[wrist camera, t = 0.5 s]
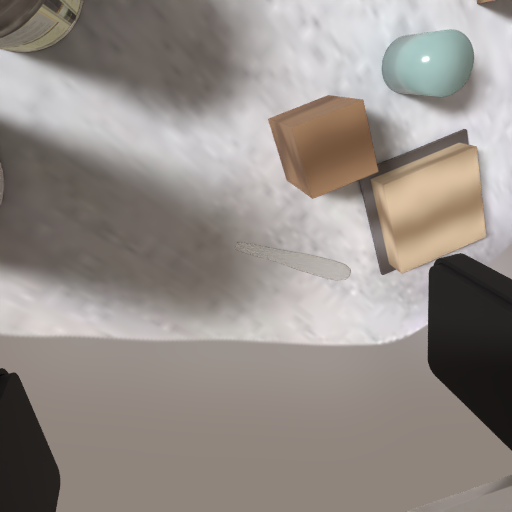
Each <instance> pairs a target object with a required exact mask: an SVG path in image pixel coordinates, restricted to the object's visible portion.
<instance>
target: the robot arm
mask: <svg viewBox="0 0 512 512" xmlns="http://www.w3.org/2000/svg"><path fill="white" fill-rule="evenodd" d="M428 363H429V366H430V369H431V370H432V372H433V374H434V375H435V376H436V377H437V378H438V379H439V380H440V381H441V382H442V383H443V384H445V386H446V387H447V388H448V389H449V390H450V391H451V392H452V393H453V394H455V395H456V396H457V397H458V398H459V399H460V400H461V401H462V402H463V403H464V404H465V405H466V406H467V407H468V408H469V409H470V410H471V411H472V412H473V413H474V414H475V415H476V416H477V417H478V418H479V419H480V420H481V421H482V422H483V423H484V424H485V425H486V426H487V427H488V428H489V429H490V430H491V431H492V432H493V433H494V434H495V435H496V436H497V437H498V438H500V440H501V441H502V442H503V443H504V444H505V445H507V446H508V447H509V448H510V449H511V450H512V279H510V278H508V277H506V276H504V275H502V274H500V273H498V272H497V271H495V270H493V269H491V268H489V267H487V266H485V265H483V264H482V263H480V262H478V261H476V260H474V259H472V258H470V257H468V256H466V255H465V254H461V253H460V254H455V255H451V256H447V257H443V258H439V259H437V260H436V261H435V263H434V266H432V267H431V268H430V270H429V301H428ZM59 490H60V474H59V469H58V467H57V464H56V462H55V460H54V457H53V455H52V453H51V450H50V448H49V446H48V443H47V441H46V439H45V436H44V434H43V432H42V429H41V427H40V425H39V423H38V420H37V418H36V415H35V413H34V411H33V408H32V406H31V404H30V401H29V399H28V397H27V394H26V392H25V390H24V387H23V385H22V383H21V380H20V378H19V376H18V375H17V374H16V373H10V374H8V372H7V371H6V370H5V369H3V368H1V369H0V512H56V507H57V500H58V496H59ZM407 512H512V475H510V476H507V477H504V478H501V479H498V480H496V481H492V482H489V483H487V484H484V485H481V486H478V487H475V488H472V489H469V490H467V491H464V492H461V493H458V494H455V495H452V496H449V497H446V498H444V499H441V500H438V501H435V502H432V503H430V504H427V505H424V506H421V507H418V508H415V509H413V510H410V511H407Z"/></svg>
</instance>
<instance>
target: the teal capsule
mask: <svg viewBox="0 0 512 512" xmlns="http://www.w3.org/2000/svg"><path fill="white" fill-rule="evenodd" d="M473 63H474V52H473V47H472V44H471V42H470V40H469V39H468V37H467V36H466V35H465V34H463V33H462V32H460V31H458V30H443V31H435V32H427V33H420V34H412V35H405V36H402V37H399V38H398V39H396V40H395V41H394V42H392V44H391V45H390V46H389V47H388V49H387V50H386V52H385V55H384V57H383V61H382V75H383V78H384V81H385V83H386V85H387V86H388V87H389V88H390V89H391V90H393V91H394V92H397V93H402V94H413V95H425V96H437V97H445V96H449V95H452V94H454V93H455V92H457V91H458V90H459V89H461V88H462V87H463V85H464V84H465V83H466V81H467V80H468V78H469V76H470V74H471V71H472V68H473Z"/></svg>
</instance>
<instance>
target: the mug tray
mask: <svg viewBox="0 0 512 512" xmlns="http://www.w3.org/2000/svg"><path fill="white" fill-rule="evenodd" d="M489 1H494V0H477V4H479V3H484V2H489Z"/></svg>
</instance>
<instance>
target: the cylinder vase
mask: <svg viewBox="0 0 512 512" xmlns="http://www.w3.org/2000/svg"><path fill="white" fill-rule="evenodd" d="M3 193H4V176H3V170H2V166H1V163H0V205H1V202H2V198H3Z"/></svg>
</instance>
